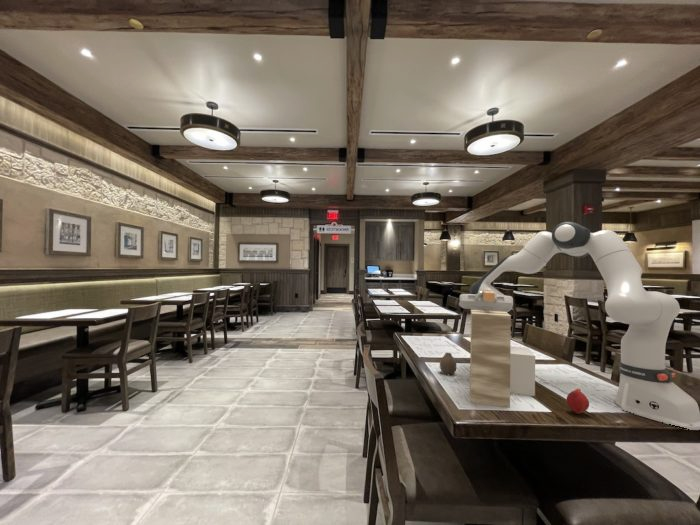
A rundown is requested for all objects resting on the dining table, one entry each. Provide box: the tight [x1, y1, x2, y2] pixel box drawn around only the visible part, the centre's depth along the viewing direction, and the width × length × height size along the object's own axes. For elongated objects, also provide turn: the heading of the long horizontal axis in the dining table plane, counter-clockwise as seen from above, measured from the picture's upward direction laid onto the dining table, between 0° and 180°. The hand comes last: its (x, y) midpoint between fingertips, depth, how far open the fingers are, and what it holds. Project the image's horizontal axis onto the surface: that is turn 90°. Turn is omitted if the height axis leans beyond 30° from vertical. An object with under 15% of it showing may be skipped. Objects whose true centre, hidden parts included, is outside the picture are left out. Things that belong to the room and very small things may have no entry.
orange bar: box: [482, 290, 495, 302], centre depth 122 cm, size 19×3×3 cm, turn 161°
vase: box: [439, 352, 457, 375], centre depth 141 cm, size 7×7×9 cm
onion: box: [566, 387, 590, 415], centre depth 103 cm, size 6×6×8 cm
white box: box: [510, 345, 536, 397], centre depth 125 cm, size 13×12×14 cm
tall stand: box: [469, 309, 512, 408], centre depth 114 cm, size 12×12×30 cm
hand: (486, 293), depth 127 cm, fingers closed on orange bar, 3 cm apart
